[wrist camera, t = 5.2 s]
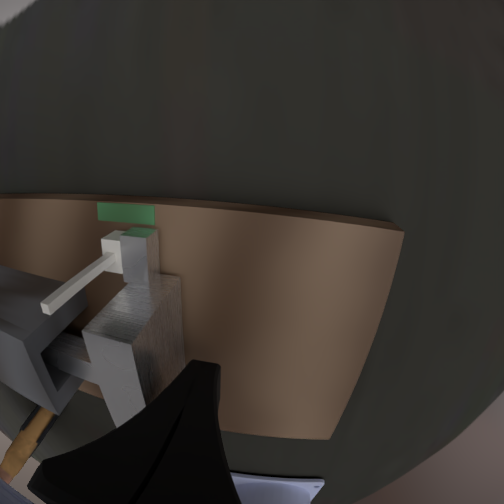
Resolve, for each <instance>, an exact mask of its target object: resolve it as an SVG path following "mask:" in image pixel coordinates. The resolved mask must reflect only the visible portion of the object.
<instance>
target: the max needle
mask: <svg viewBox="0 0 504 504" xmlns="http://www.w3.org/2000/svg"><path fill="white" fill-rule="evenodd" d="M124 232H126V231H118V230H115V231H113V232H112V233H110V234H108V235H107V236H105V237H103V238H102V239H101V244H102V254H103V256H102V257H100V258H99V259H97V260H96V261H94V262H93V263H92V264H90V265H89V266H88V267H86V268H85V269H83V270H82V271H81V272H79V273H78V274H77V275H75V276H74V277H73V278H71V279H70V280H69V281H67V282H66V283H65V284H63V285H62V286H61V287H59V288H58V289H57V290H56V291H54V292H53V293H52V294H50V295H49V296H48V297H47V298H45V299H44V300H43V301H42V302H40V304H41V307H42V311H43V313H45V314H48V315H52V314H53V313H54V312H55V311H56V310H57V309H58V308H60V307H61V306H62V305H63V304H64V303H65V302H66V301H68V300H69V299H70V298H71V297H72V296H74V295H75V294H76V293H77V292H78V291H79V290H81V289H82V288H83V287H84V286H86V285H87V284H88V283H89V282H90V281H92V280H93V279H94V278H95V277H97V276H98V275H99V274H100V273H102V272H103V271H104V270H105V271H108V272H114V273H119V274H123V269H122V259H121V248H120V235H121V234H122V233H124Z"/></svg>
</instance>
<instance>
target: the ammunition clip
mask: <svg viewBox="0 0 504 504" xmlns="http://www.w3.org/2000/svg"><path fill="white" fill-rule="evenodd" d="M67 404H68V403H67ZM65 407H66V406H65ZM60 414H61V413H60ZM58 417H59V415H57V414H55V413H53V412H51V411H49V410H47V409H45V408H43V407H42V406H40V405H37V406H36V408H35V409H34V410H33V412H32V413H31V414H30V416H29V417H28V418H27V420H26V421H25V422H24V424H23V425H22V426H21V428H20V432H19V434H18V435H17V437H16V438H15V440H14V441H13V442H12V444H11V446H10V447H9V448H8V450H7V452H6V454H5V457H4V459H3V461H2V463H1V465H0V478H1V479H2V480H3V481H5V482H6V483H7V484H8V485H9V483H10V482H11V481H12V479H13V478H14V477H15V476H16V475H17V474H18V473H19V471H20V470H21V469H22V467H23V466H24V464H25V463H26V461H27V460H28V458H30V457H31V455H32V454H33V452H34V451H35V450H36V448H37V447H38V446H39V444H40V443H41V442H42V440H43V439H44V437H45V436H46V434H47V433H48V431H49V430H50V428H51V427H52V425H53V424H54V422H55V421H56V419H57V418H58Z"/></svg>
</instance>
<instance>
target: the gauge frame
mask: <svg viewBox="0 0 504 504" xmlns="http://www.w3.org/2000/svg"><path fill="white" fill-rule="evenodd" d="M132 227H141V228H152V229H158V237H159V263H160V274H164V275H171V276H178V277H180V279H181V305H182V325H183V341H184V354H185V366H186V365H187V364H188V363H189V362H190V361H191V360H192V359H195V360H200V361H206V362H212V363H218V364H219V365H220V366H221V388H220V402H219V409H218V420H219V427H220V430H224V431H230V432H237V433H244V434H252V435H261V436H270V437H282V438H298V439H330V437H331V435H332V433H333V431H334V429H335V427H336V425H337V423H338V421H339V419H340V417H341V415H342V413H343V411H344V409H345V407H346V405H347V403H348V400H349V398H350V396H351V394H352V392H353V389H354V387H355V385H356V382H357V380H358V378H359V375H360V373H361V370H362V368H363V366H364V363H365V361H366V358H367V355H368V353H369V350H370V348H371V345H372V342H373V339H374V337H375V334H376V331H377V328H378V325H379V322H380V319H381V316H382V313H383V310H384V307H385V304H386V301H387V297H388V294H389V291H390V287H391V284H392V280H393V277H394V273H395V270H396V266H397V262H398V258H399V254H400V250H401V246H402V242H403V237H404V233H405V232H404V231H403V230H402V229H401V228H399V227H398V226H397V225H396V224H394V223H392V222H386V221H379V220H373V219H366V218H359V217H352V216H345V215H337V214H330V213H322V212H314V211H306V210H298V209H289V208H280V207H271V206H261V205H251V204H241V203H230V202H218V201H206V200H193V199H179V198H164V197H146V196H126V195H101V194H52V193H24V194H0V381H1V382H2V383H4V384H5V385H7V386H8V387H10V388H12V389H13V390H15V391H16V392H18V393H19V394H21V395H23V396H24V397H26V398H28V399H29V400H31V401H33V402H35V403H36V404H38V405H40V406H42V407H43V408H45V409H47V410H49V411H51V412H53V413H55V414H57V415H60V413H61V412H62V411H63V409H64V408H65V406H66V405H67V403H68V402H69V401H70V399H71V398H72V396H73V395H74V394H75V392H76V391H77V390H78V389H79V390H81V391H83V392H86V393H88V394H91V395H94V396H96V397H99V398H102V399H104V397H103V394H102V392H101V389H100V386H99V385H98V384H95V383H92V382H89V381H87V380H84V379H82V378H79V377H77V376H74V375H72V374H69V373H67V372H64V371H62V370H60V369H57V368H55V367H53V366H51V365H48V364H46V363H44V362H43V359H42V357H41V355H40V353H41V352H42V351H43V350H44V349H45V348H46V347H47V346H48V345H49V344H50V343H51V342H52V341H53V340H54V339H55V338H56V337H57V336H58V335H59V334H60V333H61V332H65V333H68V334H71V335H74V336H77V337H80V338H83V334H82V330H83V329H84V328H85V327H86V326H87V325H88V324H89V322H90V321H91V320H92V319H93V318H94V317H95V316H96V315H97V314H98V313H99V312H100V311H101V310H102V309H103V308H104V307H105V306H106V305H107V304H108V303H109V302H110V301H111V300H112V299H113V298H114V297H115V296H116V295H117V294H118V293H119V292H120V291H121V290H122V289H123V288H124V287H125V286H126V285H127V284H128V283H127V282H124V278H123V274H119V273H114V272H108V271H105V270H104V271H103V272H102V273H100V274H99V275H98V276H97V277H95V278H94V279H93V280H92V281H90V282H89V283H88V284H87V285H86V286H84V287H83V288H82V289H81V290H79V291H78V292H77V293H76V294H75V295H74V296H72V297H71V298H70V299H69V300H68V301H66V302H65V303H64V304H63V305H62V306H61V307H60V308H58V309H57V310H56V311H55V312H54V313H53V314H52V315H48V314H45V313H43V311H42V307H41V304H40V302H42V301H43V300H44V299H45V298H47V297H48V296H49V295H50V294H52V293H53V292H54V291H56V290H57V289H58V288H59V287H61V286H62V285H63V284H65V283H66V282H67V281H69V280H70V279H71V278H73V277H74V276H75V275H77V274H78V273H79V272H81V271H82V270H83V269H85V268H86V267H88V266H89V265H90V264H92V263H93V262H94V261H96V260H97V259H99V258H100V257H102V256H103V254H102V244H101V239H102V238H103V237H105V236H107V235H108V234H110V233H112V232H113V231H115V230H118V231H127V230H129V229H130V228H132ZM83 339H84V338H83ZM104 400H105V399H104Z"/></svg>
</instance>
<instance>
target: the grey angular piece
mask: <svg viewBox="0 0 504 504" xmlns="http://www.w3.org/2000/svg"><path fill="white" fill-rule="evenodd" d="M120 248H121V259H122V269H123V278H124V282H127V283H128V284H127V285H126V286H125V287H124V288H123V289H122V290H121V291H120V292H119V293H118V294H117V295H116V296H115V297H114V298H113V299H112V300H111V301H110V302H109V303H108V304H107V305H106V306H105V307H104V308H103V309H102V310H101V311H100V312H99V313H98V314H97V315H96V316H95V317H94V318H93V319H92V320H91V321H90V322H89V324H88V325H87V326H86V327H85V328H84V329H83V330H82V334H83V338H84V339H83V338H80V337H77V336H74V335H71V334H68V333H65V332H61V333H60V334H59V335H58V336H57V337H56V338H55V339H54V340H53V341H52V342H51V343H50V344H49V345H48V346H47V347H46V348H45V349H44V350H43V351H42V352H41V353H40V355H41V357H42V359H43V362H44V363H46V364H48V365H51V366H53V367H55V368H57V369H60V370H62V371H64V372H67V373H69V374H72V375H74V376H77V377H79V378H82V379H84V380H87V381H89V382H92V383H95V384H98V385H99V386H100V389H101V392H102V394H103V397H104V399H105V402H106V404H107V407H108V409H109V412H110V414H111V416H112V419H113V421H114V423H115V425H116V427H117V428H118V427H119V426H121V425H122V424H124V423H125V422H126V421H128V420H129V419H131V418H132V417H133V416H135V415H136V414H137V413H139V412H140V411H141V410H142V409H143V408H145V407H146V406H147V405H148V404H149V403H150V402H151V401H153V400H154V399H155V398H156V397H157V396H158V395H159V394H160V393H161V392H162V391H163V390H164V389H165V388H166V387H167V386H168V385H169V384H170V383H171V382H172V381H173V380H174V379H175V378H176V377H177V376H178V375H179V373H180V372H181V371H182V370H183V369H184V368H185V354H184V341H183V325H182V305H181V279H180V277H178V276H171V275H164V274H160V263H159V237H158V229H152V228H141V227H132V228H130V229H129V230H127V231H126V232H124V233H122V234H121V235H120Z"/></svg>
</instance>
